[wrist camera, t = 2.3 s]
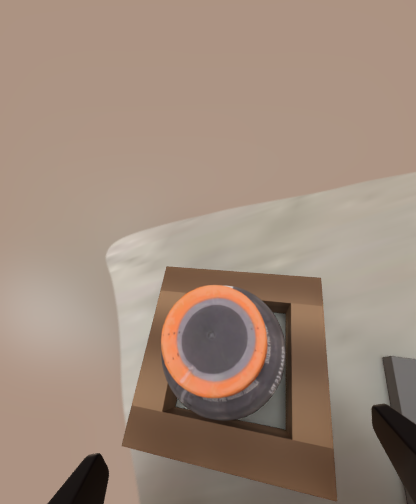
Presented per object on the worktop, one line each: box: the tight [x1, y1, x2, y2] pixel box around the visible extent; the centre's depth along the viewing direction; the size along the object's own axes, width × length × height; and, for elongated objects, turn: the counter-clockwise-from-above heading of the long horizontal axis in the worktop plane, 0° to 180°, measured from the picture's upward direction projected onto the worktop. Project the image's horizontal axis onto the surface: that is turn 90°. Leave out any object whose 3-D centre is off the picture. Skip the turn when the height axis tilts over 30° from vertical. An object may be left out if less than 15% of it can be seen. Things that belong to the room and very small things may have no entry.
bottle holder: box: [122, 267, 337, 501], centre depth 17 cm, size 12×12×3 cm
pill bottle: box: [161, 285, 286, 421], centre depth 13 cm, size 6×6×11 cm
